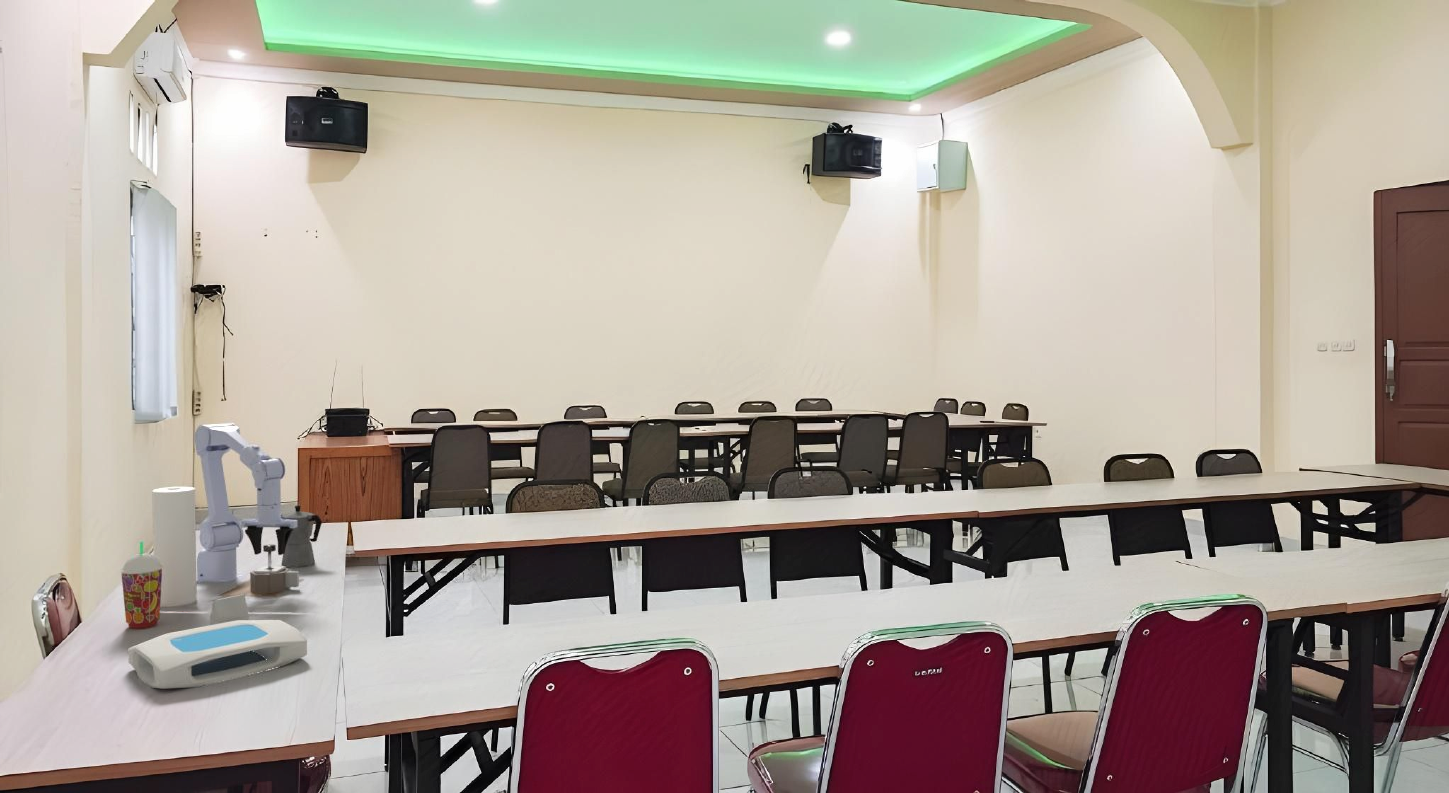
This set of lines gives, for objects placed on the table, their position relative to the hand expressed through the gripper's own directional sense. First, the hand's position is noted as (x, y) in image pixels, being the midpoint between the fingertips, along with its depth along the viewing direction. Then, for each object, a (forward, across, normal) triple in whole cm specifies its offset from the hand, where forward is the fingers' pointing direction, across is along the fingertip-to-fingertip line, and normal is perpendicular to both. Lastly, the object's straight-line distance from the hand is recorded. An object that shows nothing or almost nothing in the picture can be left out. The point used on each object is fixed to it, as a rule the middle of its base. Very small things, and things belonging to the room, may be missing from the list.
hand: (269, 553), depth 257 cm
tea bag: (+10, -13, +42) cm, 46 cm away
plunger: (+6, 0, 0) cm, 6 cm away
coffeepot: (+10, +6, -31) cm, 34 cm away
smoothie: (+10, +14, +33) cm, 37 cm away
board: (+10, +3, -2) cm, 11 cm away
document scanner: (+11, -19, +58) cm, 62 cm away
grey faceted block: (+10, -2, 0) cm, 10 cm away
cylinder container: (+10, +18, +14) cm, 25 cm away
